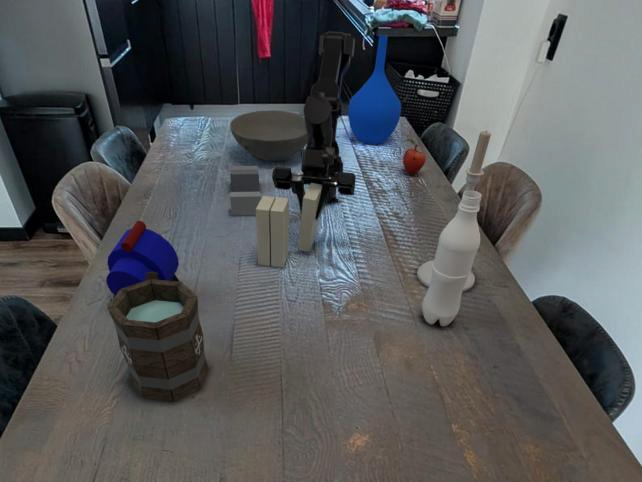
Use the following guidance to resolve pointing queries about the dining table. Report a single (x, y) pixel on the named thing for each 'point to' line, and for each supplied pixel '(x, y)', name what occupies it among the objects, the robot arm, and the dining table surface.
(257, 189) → the grey books
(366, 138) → the vase
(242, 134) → the bowl
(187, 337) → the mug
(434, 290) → the water bottle
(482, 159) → the candlestick
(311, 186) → the cream rectangular block
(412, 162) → the apple
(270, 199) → the white books
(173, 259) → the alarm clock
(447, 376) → the dining table surface
